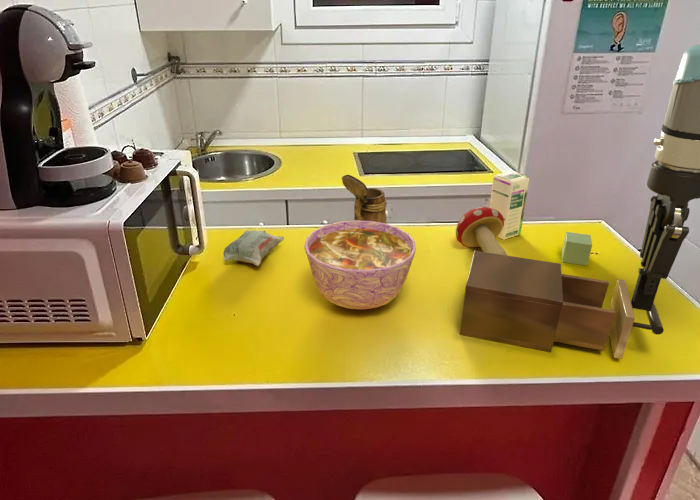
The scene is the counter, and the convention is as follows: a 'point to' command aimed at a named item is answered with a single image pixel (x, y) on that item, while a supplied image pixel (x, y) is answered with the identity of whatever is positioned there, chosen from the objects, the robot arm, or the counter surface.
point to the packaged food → (251, 247)
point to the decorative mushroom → (481, 229)
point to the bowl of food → (359, 262)
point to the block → (576, 248)
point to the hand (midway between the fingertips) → (640, 307)
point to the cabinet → (512, 300)
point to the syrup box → (510, 201)
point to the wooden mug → (366, 200)
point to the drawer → (599, 315)
